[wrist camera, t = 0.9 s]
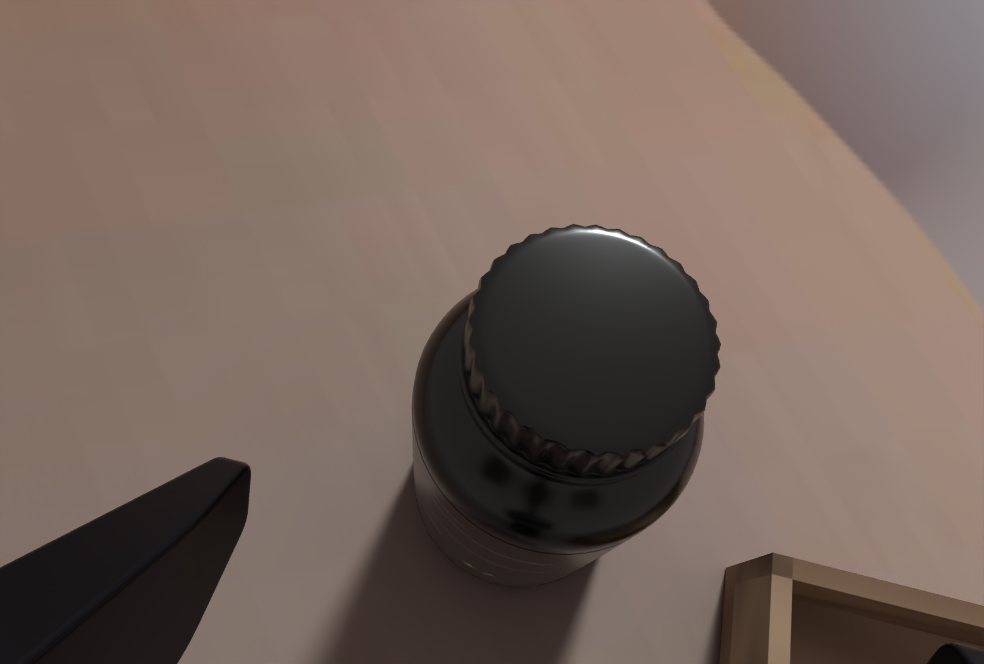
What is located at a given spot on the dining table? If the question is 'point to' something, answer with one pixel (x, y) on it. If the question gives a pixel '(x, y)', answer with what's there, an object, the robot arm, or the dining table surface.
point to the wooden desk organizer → (835, 617)
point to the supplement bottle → (561, 404)
